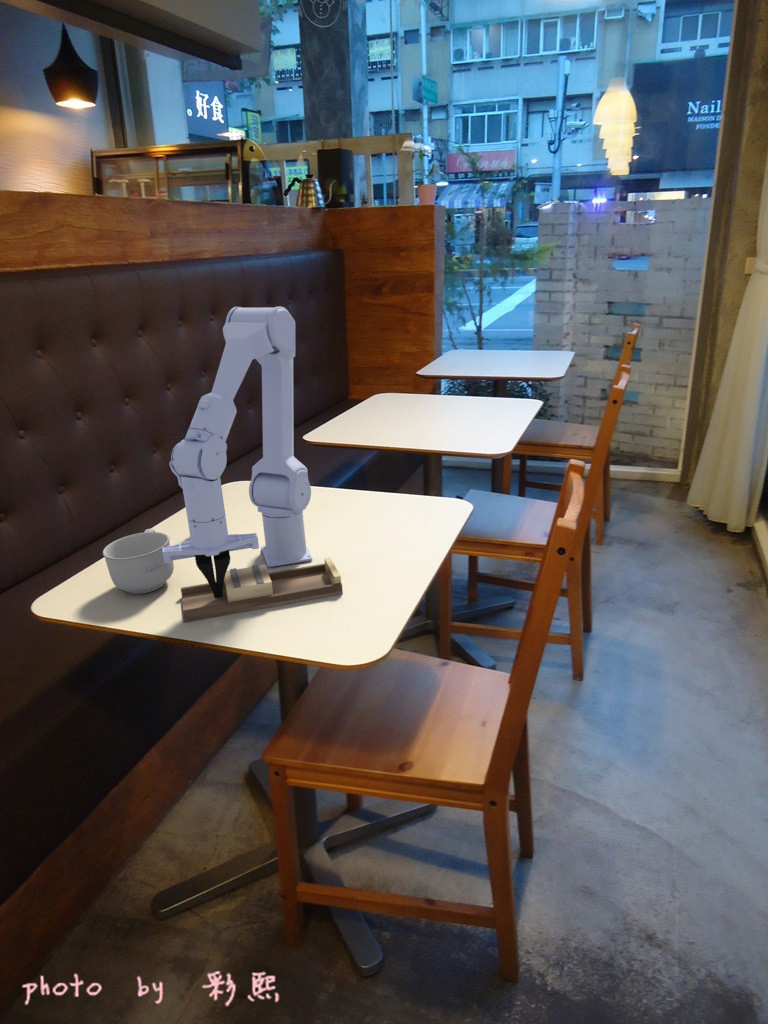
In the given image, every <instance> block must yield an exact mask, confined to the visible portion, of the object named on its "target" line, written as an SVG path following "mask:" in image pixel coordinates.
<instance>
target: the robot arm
mask: <svg viewBox="0 0 768 1024" xmlns="http://www.w3.org/2000/svg"><path fill="white" fill-rule="evenodd" d="M222 333H223V338H224V341H225V345H224V349H223V352H222V355H221V359H220V362H219V366H218V370H217V371H216V372H217V373H216V375H215V379H214V382H213V385H212V389H211V392H209V393H206V394H204V395H202V396H201V397H200V399H199V402H198V404H197V407H196V410H195V412H194V415H193V417H192V419H191V422H190V425H189V427H188V429H187V432H186V435H185V437H184V439H182V440H180V442H178V443H177V444H175V445H174V447H173V448H172V452H171V454H170V455H171V456H170V461H169V463H168V464H169V467H170V470H171V472H172V473H173V474H174V476H176V477H177V478H176V479H177V481H178V486H180V488H181V489H182V494H183V499H184V505H185V506H184V507H185V511H186V517H187V524H188V530H189V531H188V532H189V536H190V540H186V541H184V542H181V543H180V542H179V543H177V544H173V545H170V546H168V547H163V548H162V552H163V558H164V563H170V562H172V560H173V561H178V560H184V559H189V558H194V559H195V565H196V567H197V568H198V570H199V572H201V574H202V575H203V576H204V579H206V581H207V583H209V585H210V587H211V589H212V592H213V594H214V598H220V597H223V584H224V579H225V575H226V571H228V568H229V566H230V563H231V555H230V552H233V551H240V550H241V551H242V550H247V549H252V550H257V549H259V548H261V551H262V554H263V557H264V559H265V560H264V561H265V563H266V566H267V568H274V567H279V566H286V565H291V564H292V565H293V564H296V563H298V564H299V563H303V562H308V561H309V562H310V561H312V560H313V555H312V554H311V553H310V550H309V548H308V547H307V543H306V534H305V532H306V531H305V521H304V513H303V512H304V510H306V509H307V507H308V505H309V504H310V501H311V497H312V488H311V484H310V481H309V476H308V475H309V474H308V470H309V469H308V468H307V467H306V465H304V464H303V463H302V462H301V461H300V460H298V458H296V457H295V456H294V455H295V454H294V453H295V451H294V450H295V448H294V446H295V445H294V442H295V441H294V438H295V435H294V433H295V431H294V428H295V427H294V417H295V416H294V358H295V357H296V321H295V319H294V318H293V316H292V315H291V313H290V312H289V310H288V309H287V308H286V307H284V306H275V307H242V306H234V307H232V308H231V309H229V311H228V312H227V315H226V319H225V323H224V325H223V327H222ZM253 360H255V361H257V362H258V363H259V365H261V395H262V396H261V402H262V403H261V404H262V406H261V407H262V412H261V413H262V414H261V415H262V458H261V459H259V460H258V461H257V462H256V463H255V464H254V465H253V466H251V478H250V482H249V486H248V495H249V499H250V502H251V503H252V504H253V505H254V506H255V507H257V512H259V513H261V516H262V518H261V519H262V525H263V526H262V527H263V534H264V535H263V536H264V541H265V544H264V545H261V546H259V545H260V544H259V537H258V534H257V533H256V532H255V533H241V534H239V533H238V534H229V531H228V525H227V516H226V510H225V503H224V495H223V488H222V482H221V481H222V480H221V476H222V475H223V472H224V471H225V469H226V468H227V461H228V459H227V450H228V444H227V443H226V442H227V439H228V436H229V433H230V430H231V428H232V426H233V423H234V420H235V417H236V415H237V413H238V412H237V407H236V405H235V402H234V399H235V397H236V395H237V393H238V390H239V388H240V387H241V384H242V382H243V380H244V378H245V376H246V374H247V371H248V370H249V368H250V365H251V364H252V361H253ZM213 562H214V564H213ZM214 570H215V572H214Z"/></svg>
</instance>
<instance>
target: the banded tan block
mask: <svg viewBox="0 0 768 1024" xmlns="http://www.w3.org/2000/svg"><path fill="white" fill-rule="evenodd" d="M269 573H270V572H269V571H268V567H267V564H261V565H259V564H253V565H251V566H249V567H248V566H247V567H244V568H238V569H237V568H230V569H229V570H227V571H226V575H225V579H224V584H225V590H226V595H227V599H228V603H229V602H235V601H240V600H246V599H252V598H257V597H263V596H268V595H273V589H272V582H271V579H270V576H269Z"/></svg>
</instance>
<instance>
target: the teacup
mask: <svg viewBox="0 0 768 1024" xmlns="http://www.w3.org/2000/svg"><path fill="white" fill-rule="evenodd" d="M168 546H171V543H170V537H169V535H168V534H166V533H163V532H160V531H159V532H157V531H156V530H155V529H153V528H147V529H145V530H144V532H139V533H134V534H130V535H127V536H124V537H121V538H119V539H116V540H114V541H112V542H110V543H109V544H107V545H106V546H105V547H104V549H103V551H102V555H103V557H104V559H105V562H106V566H107V570H108V573H109V576H110V578H111V579H110V580H111V582H112V583H113V584H114V586H115V587H116V588H118V589H120V590H122V591H125V592H127V593H129V594H132V595H133V594H134V595H141V594H147V593H150V592H153V591H155V590H158V589H161V588H162V587H163V586H164V585H165V584H166V583H167V581H168V580H169V579H170V578H171V577H172V575H173V573H174V568H175V566H174V565H175V564H174V562H175V561H174V560H172V562H170V563H164V558H163V552H162V548H163V547H168Z"/></svg>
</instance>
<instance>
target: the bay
mask: <svg viewBox="0 0 768 1024" xmlns="http://www.w3.org/2000/svg"><path fill="white" fill-rule="evenodd" d="M323 559H324V563H319V564H313V565H308V566H301V567H296V568H289V569H284V570H278V571H277V570H276V571H272V572H268V573H269V576H270V579H271V582H272V589H273V595H268V596H263V597H257V598H252V599H246V600H240V601H235V602H229V603H228V599H227V595H226V590H225V584H223V597H220V598H214V594H213V592H212V589H211V587H210V585H209V583H208V582H207V583H202V584H196V585H190V586H185V587H184V586H183V587H180V592H181V601H182V615H183V621H184V623H187V622H194V621H199V620H205V619H209V618H214V617H215V618H216V617H221V616H226V615H232V614H236V613H243V612H247V611H248V612H249V611H255V610H259V609H260V610H261V609H265V608H271V607H276V606H282V605H287V604H288V605H289V604H292V603H298V602H299V603H300V602H304V601H310V600H315V599H316V600H317V599H321V598H326V597H331V596H337V595H342V594H343V593H344V592H343V591H344V590H343V584H342V577H341V574H340V572H339V571H338V568H337V567H336V566H335V564H334V562H333V560H332V558H331V557H324V558H323Z"/></svg>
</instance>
